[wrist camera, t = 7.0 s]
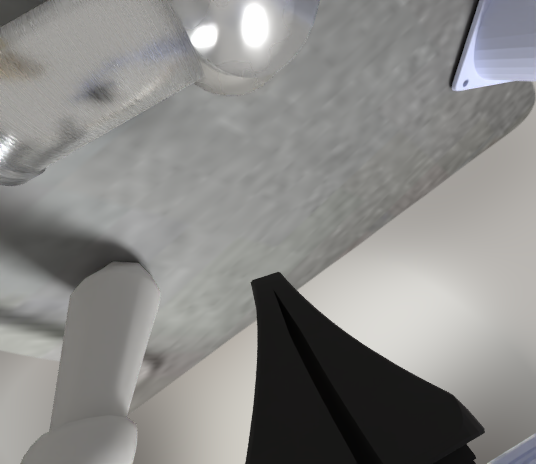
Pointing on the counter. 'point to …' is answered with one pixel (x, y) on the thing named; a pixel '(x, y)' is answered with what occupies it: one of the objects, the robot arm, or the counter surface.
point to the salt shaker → (100, 369)
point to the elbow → (125, 65)
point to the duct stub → (229, 82)
